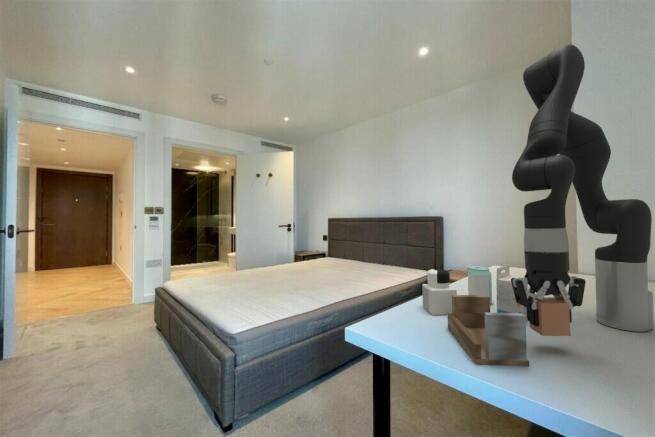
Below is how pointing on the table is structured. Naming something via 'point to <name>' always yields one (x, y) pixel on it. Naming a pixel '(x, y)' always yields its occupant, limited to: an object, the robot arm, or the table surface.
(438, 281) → the container
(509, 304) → the ink box
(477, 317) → the shelf
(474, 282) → the can
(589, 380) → the table surface
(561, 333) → the book
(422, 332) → the table surface
